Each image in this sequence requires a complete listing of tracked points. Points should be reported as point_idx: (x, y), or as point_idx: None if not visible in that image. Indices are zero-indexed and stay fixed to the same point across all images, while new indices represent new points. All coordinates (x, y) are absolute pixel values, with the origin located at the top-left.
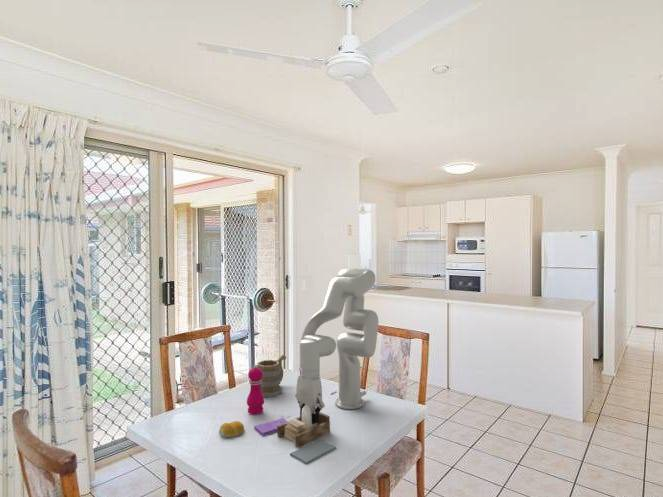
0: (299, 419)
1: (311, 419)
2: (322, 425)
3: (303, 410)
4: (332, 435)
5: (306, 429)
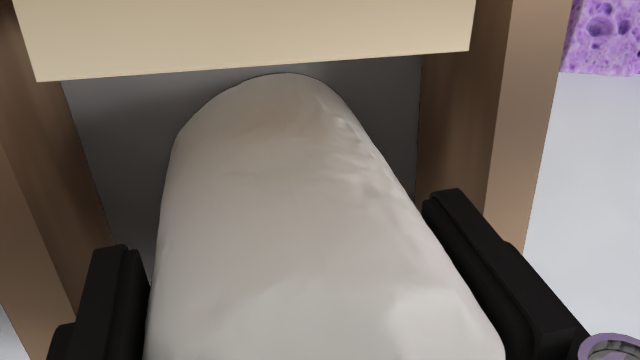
0: (478, 175)
1: (151, 298)
2: (29, 347)
3: (392, 339)
4: (9, 327)
5: (217, 125)
